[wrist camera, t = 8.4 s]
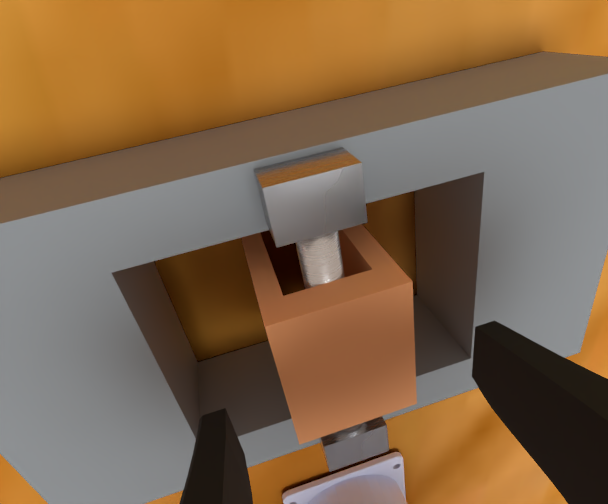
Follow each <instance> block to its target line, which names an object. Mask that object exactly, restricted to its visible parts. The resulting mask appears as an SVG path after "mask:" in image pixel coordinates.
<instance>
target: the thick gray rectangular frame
mask: <svg viewBox="0 0 608 504" xmlns="http://www.w3.org/2000/svg"><path fill="white" fill-rule="evenodd" d="M411 191H414V196H415V238H416V279H417V295H415V296H413V309H414V337H415V365H416V394H417V404H415V405H412V406H409V407H406V408H403V409H401V410H398V411H395V412H392V413H389V414H386V415H383V416H381V417H378V418H375V419H372V420H369V421H366V422H363V423H361V424H358V425H355V426H352V427H349V428H346V429H343V430H341V431H338V432H335V433H332V434H329V435H326V436H323V437H321V438H318V439H315V440H312V441H309V442H306V443H303V444H301V445H299V441H298V438H297V434H296V431H295V428H294V424H293V421H292V418H291V414H290V411H289V407H288V404H287V401H286V397H285V394H284V391H283V387H282V384H281V381H280V377H279V374H278V370H277V367H276V364H275V360H274V357H273V354H272V350H271V347H270V343H269V341H266V342H262V343H259V344H256V345H252V346H249V347H246V348H243V349H239V350H236V351H233V352H230V353H226V354H223V355H220V356H217V357H213V358H210V359H207V360H204V361H200V362H197V360H196V357H195V355H194V353H193V351H192V348H191V346H190V344H189V341H188V339H187V337H186V334H185V332H184V330H183V328H182V325H181V323H180V321H179V318H178V316H177V314H176V311H175V309H174V307H173V305H172V302H171V300H170V298H169V295H168V293H167V291H166V288H165V286H164V284H163V281H162V279H161V277H160V275H159V272H158V270H157V268H156V265H155V263H154V261H157V260H160V259H164V258H168V257H171V256H175V255H179V254H182V253H186V252H190V251H193V250H197V249H201V248H204V247H208V246H212V245H216V244H219V243H223V242H227V241H230V240H234V239H238V238H241V237H245V236H249V235H252V234H256V233H260V232H264V231H267V230H270V233H271V235H272V238H273V240H274V243H275V245H276V248H278V247H281V246H285V245H288V244H292V243H296V247H297V252H298V257H299V262H300V267H301V272H302V277H303V281H304V286H305V289H308V288H311V287H315V286H318V285H322V284H325V283H329V282H332V281H335V280H338V279H342V278H345V276H344V269H343V262H342V255H341V247H340V240H339V233H338V231H339V230H342V229H346V228H350V227H353V226H357V225H360V224H364V223H368V222H367V212H366V204H367V203H371V202H374V201H378V200H382V199H385V198H389V197H393V196H396V195H400V194H404V193H407V192H411ZM607 250H608V57H602V56H590V55H578V54H566V53H555V52H539V53H535V54H531V55H526V56H522V57H518V58H514V59H509V60H505V61H501V62H496V63H492V64H488V65H484V66H479V67H475V68H471V69H466V70H462V71H458V72H453V73H449V74H445V75H441V76H436V77H432V78H428V79H423V80H419V81H415V82H411V83H406V84H402V85H398V86H393V87H389V88H385V89H381V90H376V91H372V92H368V93H363V94H359V95H355V96H351V97H346V98H342V99H338V100H333V101H329V102H325V103H321V104H316V105H312V106H308V107H303V108H299V109H295V110H291V111H286V112H282V113H278V114H273V115H269V116H265V117H260V118H256V119H252V120H248V121H243V122H239V123H235V124H230V125H226V126H222V127H218V128H213V129H209V130H205V131H200V132H196V133H192V134H188V135H183V136H179V137H175V138H170V139H166V140H162V141H158V142H153V143H149V144H145V145H140V146H136V147H132V148H128V149H123V150H119V151H115V152H110V153H106V154H102V155H97V156H93V157H89V158H85V159H80V160H76V161H72V162H67V163H63V164H59V165H55V166H50V167H46V168H42V169H37V170H33V171H29V172H25V173H20V174H16V175H12V176H7V177H3V178H0V454H1V455H2V456H3V457H4V458H5V459H6V460H7V461H8V462H9V463H10V464H11V465H12V466H13V467H14V468H15V469H16V471H17V472H18V473H19V474H20V475H21V476H22V477H23V478H24V479H25V480H26V481H27V482H28V483H29V484H30V485H31V486H32V487H33V488H34V489H35V490H36V491H37V492H38V493H39V494H40V495H41V496H42V497H43V499H44V500H45V501H46V502H47V503H48V504H144V503H147V502H150V501H153V500H156V499H159V498H162V497H165V496H167V495H170V494H173V493H176V492H179V491H182V490H184V486H185V483H186V479H187V476H188V472H189V468H190V463H191V459H192V455H193V451H194V446H195V442H196V436H197V431H198V425H199V420H200V418H201V417H202V415H205V414H208V413H212V412H215V411H218V410H221V409H224V408H226V410H227V413H228V415H229V418H230V420H231V423H232V425H233V427H234V430H235V432H236V435H237V437H238V439H239V442H240V444H241V447H242V449H243V451H244V454H245V459H246V464H247V468H248V467H251V466H254V465H257V464H260V463H263V462H265V461H268V460H271V459H274V458H277V457H280V456H283V455H286V454H288V453H291V452H294V451H297V450H300V449H303V448H306V447H309V446H312V445H314V444H317V443H321V446H322V450H323V453H324V456H325V459H326V462H327V465H328V468H329V471H330V472H331V471H334V470H337V469H339V468H342V467H345V466H348V465H351V464H353V463H356V462H359V461H362V460H365V459H367V458H370V457H373V456H376V455H379V454H381V453H384V452H387V451H389V445H388V434H387V425H386V423H385V421H384V420H386V419H389V418H392V417H395V416H398V415H401V414H404V413H407V412H409V411H412V410H415V409H418V408H421V407H424V406H427V405H430V404H433V403H435V402H438V401H441V400H444V399H447V398H450V397H453V396H456V395H458V394H461V393H464V392H467V391H470V390H473V389H476V388H479V387H478V386H477V384H476V382H475V381H474V379H473V378H472V366H473V352H474V337H475V327H476V326H479V325H482V324H485V323H488V322H492V321H497V322H498V323H500V324H502V325H504V326H506V327H508V328H510V329H512V330H514V331H515V332H517V333H519V334H521V335H523V336H525V337H526V338H528V339H530V340H532V341H534V342H536V343H538V344H539V345H541V346H543V347H545V348H547V349H549V350H551V351H553V352H554V353H556V354H558V355H560V356H562V357H564V358H565V357H568V356H571V355H574V354H577V353H580V350H581V346H582V342H583V339H584V335H585V331H586V328H587V324H588V320H589V316H590V313H591V309H592V305H593V302H594V298H595V294H596V291H597V287H598V283H599V279H600V276H601V272H602V268H603V265H604V261H605V257H606V254H607Z"/></svg>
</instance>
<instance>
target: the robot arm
mask: <svg viewBox="0 0 608 504" xmlns="http://www.w3.org/2000/svg"><path fill="white" fill-rule="evenodd" d="M472 378H473V379H474V381H475V382H476V384H477V386H478V387H479V389H480V390H481V392H482V394H483V395H484V397H485V398H486V400H487V401H488V403H489V404H490V406H491V407H492V409H493V410H494V411H495V413H496V414H497V415H498V416H499V418H500V419H501V420H502V421H503V423H504V424H505V425H506V426H507V428H508V429H509V430H510V431H511V433H512V434H513V435H514V436H515V437H516V439H517V440H518V441H519V442H520V444H521V445H522V446H523V447H524V448H525V450H526V451H527V452H528V453H529V455H530V456H531V457H532V458H533V459H534V461H535V462H536V463H537V464H538V465H539V467H540V468H541V469H542V470H543V472H544V473H545V474H546V475H547V476H548V478H549V479H550V480H551V481H552V483H553V484H554V485H555V487H556V488H557V489H558V491H559V492H560V493H561V494H562V496H563V497H564V498H565V500H566V501H567V503H568V504H608V379H606V378H604V377H602V376H600V375H598V374H596V373H594V372H592V371H590V370H588V369H586V368H584V367H582V366H580V365H578V364H576V363H574V362H572V361H570V360H568V359H566V358H564V357H562V356H560V355H558V354H556V353H554V352H553V351H551V350H549V349H547V348H545V347H543V346H541V345H539V344H538V343H536V342H534V341H532V340H530V339H528V338H526V337H525V336H523V335H521V334H519V333H517V332H515V331H514V330H512V329H510V328H508V327H506V326H504V325H502V324H500V323H498V322H497V321H492V322H488V323H485V324H482V325H479V326H476V327H475V337H474V352H473V366H472ZM282 499H283V503H284V504H407V502H406V495H405V479H404V463H403V457H402V455H401V453H399V452H393V453H390V454H387V455H385V456H382V457H379V458H376V459H374V460H371V461H368V462H365V463H362V464H360V465H357V466H354V467H351V468H348V469H346V470H343V471H340V472H337V473H335V474H332V475H329V476H326V477H323V478H321V479H318V480H315V481H312V482H309V483H307V484H304V485H301V486H298V487H296V488H293V489H290V490H288V491H286V492H284V494H283V495H282ZM180 504H253V501H252V492H251V486H250V481H249V475H248V470H247V464H246V459H245V454H244V451H243V449H242V447H241V444H240V442H239V439H238V437H237V435H236V432H235V430H234V427H233V425H232V423H231V420H230V418H229V415H228V413H227V410H226V408H224V409H221V410H218V411H215V412H212V413H208V414H205V415H202V417H201V418H200V420H199V425H198V431H197V436H196V442H195V446H194V451H193V455H192V459H191V463H190V468H189V472H188V476H187V479H186V483H185V486H184V490H183V493H182V497H181V501H180Z"/></svg>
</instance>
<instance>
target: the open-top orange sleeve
mask: <svg viewBox="0 0 608 504" xmlns="http://www.w3.org/2000/svg"><path fill="white" fill-rule="evenodd" d="M338 233H339V240H340V247H341V255H342V262H343V269H344V276H345V278H342V279H338V280H335V281H332V282H329V283H325V284H322V285H318V286H315V287H311V288H308V289H305V290H301V291H298V292H295V293H291V294H288V295H285V296H283V294H282V291H281V288H280V286H279V283H278V280H277V277H276V275H275V272H274V269H273V266H272V264H271V261H270V258H269V255H268V253H267V250H266V247H265V244H264V242H263V239H262V236H261V233H256V234H252V235H249V236H245V237H241V240H242V244H243V248H244V252H245V255H246V259H247V263H248V267H249V270H250V274H251V278H252V282H253V285H254V289H255V293H256V297H257V300H258V304H259V308H260V312H261V315H262V319H263V323H264V327H265V330H266V333H267V337H268V340H269V343H270V347H271V350H272V354H273V357H274V360H275V364H276V367H277V370H278V374H279V377H280V381H281V384H282V387H283V391H284V394H285V397H286V401H287V404H288V407H289V411H290V414H291V418H292V421H293V424H294V428H295V431H296V434H297V438H298V441H299V445H301V444H303V443H306V442H309V441H312V440H315V439H318V438H321V437H323V436H326V435H329V434H332V433H335V432H338V431H341V430H343V429H346V428H349V427H352V426H355V425H358V424H361V423H363V422H366V421H369V420H372V419H375V418H378V417H381V416H383V415H386V414H389V413H392V412H395V411H398V410H401V409H403V408H406V407H409V406H412V405H415V404H417V394H416V365H415V337H414V309H413V281H412V280H411V279H410V278H409V277H408V276H407V275H406V273H405V272H404V271H403V270H402V269H401V268H400V267H399V266H398V264H397V263H396V262H395V261H394V260H393V259H392V258H391V256H390V255H389V254H388V253H387V252H386V251H385V250H384V249H383V247H382V246H381V245H380V244H379V243H378V242H377V241H376V239H375V238H374V237H373V236H372V235H371V234H370V233H369V232H368V230H367V229H366V228H365V227H364V226H363V225H362V224H360V225H357V226H353V227H350V228H346V229H342V230H339V231H338Z"/></svg>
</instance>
